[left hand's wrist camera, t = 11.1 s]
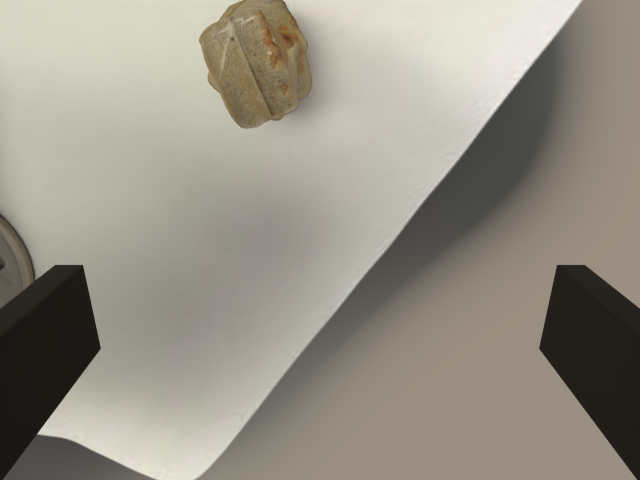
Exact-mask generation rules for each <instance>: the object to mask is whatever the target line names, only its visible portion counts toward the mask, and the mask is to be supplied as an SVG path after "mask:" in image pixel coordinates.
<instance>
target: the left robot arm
mask: <svg viewBox="0 0 640 480" xmlns="http://www.w3.org/2000/svg"><path fill="white" fill-rule="evenodd" d="M100 349H101V347H100V342H99V338H98V333H97V328H96V324H95V319H94V314H93V310H92V305H91V300H90V296H89V291H88V286H87V282H86V277H85V273H84V268H83V265H55V266H53V267H52V268H51V269H50V270H48V271H47V272H46V273H45V274H43V275H42V276H41V277H40V278H38V279H37V280H36V281H34V277H33V270H32V265H31V262H30V259H29V256H28V254H27V251H26V249H25V247H24V245H23V244H22V242H21V240H20V239H19V237H18V236H17V234H16V233H15V232H14V230H13V229H12V228H11V227H10V225H9V224H8V223H7V222H6V221H5V220H4V219H3V218H2V217H1V216H0V480H3V479H4V477H5V476H6V475H7V473H8V472H9V471H10V469H11V468H12V467H13V465H14V464H15V463H16V461H17V460H18V459H19V457H20V456H21V455H22V453H23V452H24V451H25V449H26V448H27V447H28V445H29V444H30V442H31V441H32V440H33V439H34V437H35V436H36V435H37V433H38V432H39V431H40V429H41V428H42V427H43V425H44V424H45V423H46V421H47V420H48V419H49V417H50V416H51V415H52V413H53V412H54V410H55V409H56V408H57V406H58V405H59V404H60V402H61V401H62V400H63V398H64V397H65V396H66V394H67V393H68V392H69V390H70V389H71V388H72V386H73V385H74V384H75V382H76V381H77V380H78V378H79V377H80V376H81V374H82V373H83V372H84V370H85V369H86V368H87V366H88V365H89V364H90V362H91V361H92V360H93V358H94V357H95V356H96V354H97V353H98V352H99V350H100ZM539 349H540V350H541V352H542V353H543V354H544V356H545V357H546V358H547V360H548V361H549V362H550V364H551V365H552V366H553V368H554V369H555V370H556V372H557V373H558V374H559V376H560V377H561V378H562V380H563V381H564V382H565V384H566V385H567V386H568V388H569V389H570V390H571V392H572V393H573V394H574V396H575V397H576V398H577V400H578V401H579V402H580V404H581V405H582V406H583V408H584V409H585V410H586V412H587V413H588V414H589V416H590V417H591V419H592V420H593V421H594V422H595V424H596V425H597V427H598V428H599V429H600V431H601V432H602V433H603V435H604V436H605V437H606V439H607V440H608V441H609V443H610V444H611V445H612V447H613V448H614V449H615V451H616V452H617V453H618V455H619V456H620V457H621V459H622V460H623V461H624V463H625V464H626V465H627V467H628V468H629V469H630V471H631V472H632V473H633V475H634V476H635V477H636V479H637V480H640V308H638V307H637V306H636V305H635V304H633V303H632V302H631V301H629V300H628V299H627V298H626V297H624V296H623V295H622V294H621V293H619V292H618V291H617V290H616V289H614V288H613V287H612V286H611V285H609V284H608V283H607V282H606V281H604V280H603V279H602V278H600V277H599V276H598V275H597V274H595V273H594V272H593V271H592V270H590V269H589V268H588V267H586V266H585V265H557V268H556V273H555V277H554V282H553V286H552V291H551V296H550V301H549V305H548V310H547V314H546V319H545V324H544V328H543V333H542V338H541V343H540V347H539Z"/></svg>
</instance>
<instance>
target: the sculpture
mask: <svg viewBox="0 0 640 480" xmlns="http://www.w3.org/2000/svg"><path fill="white" fill-rule="evenodd" d="M199 42H200V44H201V47H202V51H203V55H204V59H205V62H206V64H207V67H208V69H209V74H208V81H209V83H210V85H211V86H212V87H213V88H214V89H216V90H217V91H218V92H219V93H220V95H221V97H222V99H223V101H224V104H225V106H226V108H227V110H228V112H229V114H230V115H231V117H232V118H233V119H234V121H235V122H236V123H237V124H238V125H239V126H240V127H241V128H254V127H258V126H260V125H261V124H263V123H265V122H267V121H269V120H274V121H278V120H281V119H282V118H283V117H284V116H285V115H286V114H288V113H290V112H292V111H294V110H295V109H296V108H297V107H298V105H299V101H298V99H301V98H303V97H305V96H306V95H307V94H308V93H309V91H310V89H311V83H312V81H311V74H310V70H309V65H308V62H307V58H306V55H305V53H306V50H307V47H308V45H307V42H306V40H305V38H304V36H303V35H302V33H301V31H300V29H299V27H298V25H297V23H296V20H295V19H294V18H293V16H292V15H291V13H290V12H289V10H288V8H287V6H286V4H285V2H284V1H283V0H242V1H240V2H238V3H236V4H233V5H231V6H229V7H228V9H227V10H226V12H225V13H224V14H223V16H222V17H221V18H220V20H219V21H218V22H216V23H214V24H212V25H210V26H209V27H207V28H206V29H205V30H204V32H203V33H202V34H201V36H200V38H199Z"/></svg>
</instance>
